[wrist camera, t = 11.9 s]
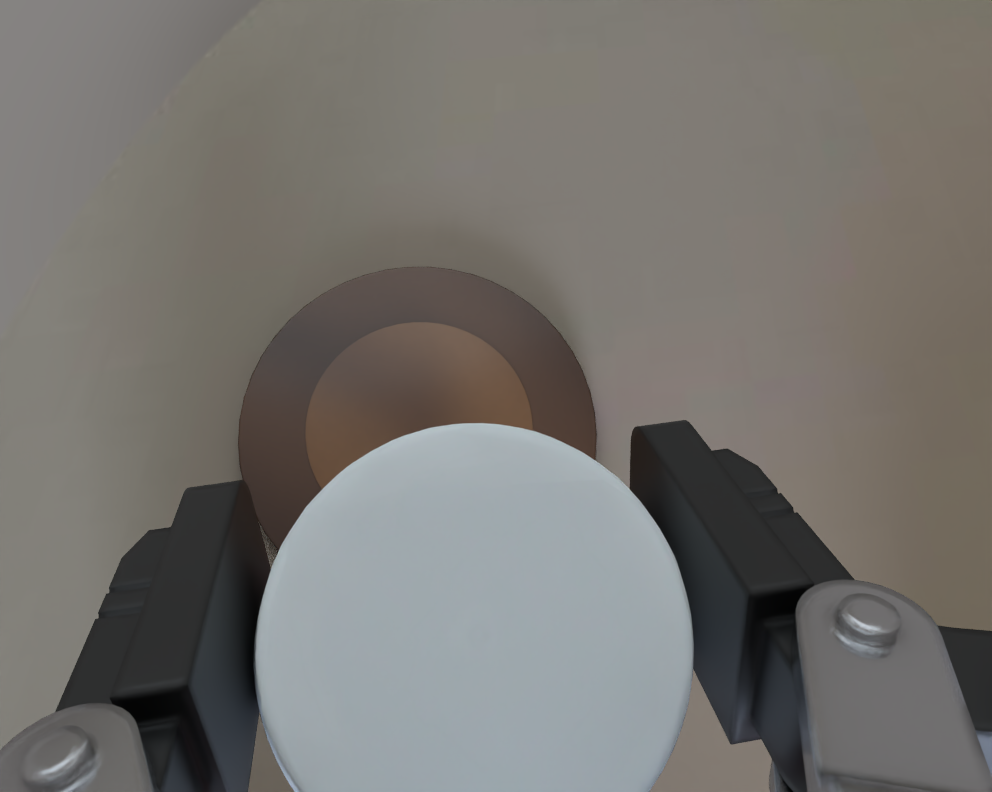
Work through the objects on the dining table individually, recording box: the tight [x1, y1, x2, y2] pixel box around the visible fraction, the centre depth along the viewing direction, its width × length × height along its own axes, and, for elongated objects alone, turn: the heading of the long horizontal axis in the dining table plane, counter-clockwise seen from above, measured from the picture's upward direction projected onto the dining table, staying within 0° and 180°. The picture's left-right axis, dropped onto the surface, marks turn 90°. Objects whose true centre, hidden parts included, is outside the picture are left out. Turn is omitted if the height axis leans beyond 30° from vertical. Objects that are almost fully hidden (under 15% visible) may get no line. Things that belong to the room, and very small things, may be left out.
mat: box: [238, 267, 597, 551], centre depth 26 cm, size 12×12×1 cm
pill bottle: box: [253, 423, 694, 792], centre depth 11 cm, size 5×5×10 cm
